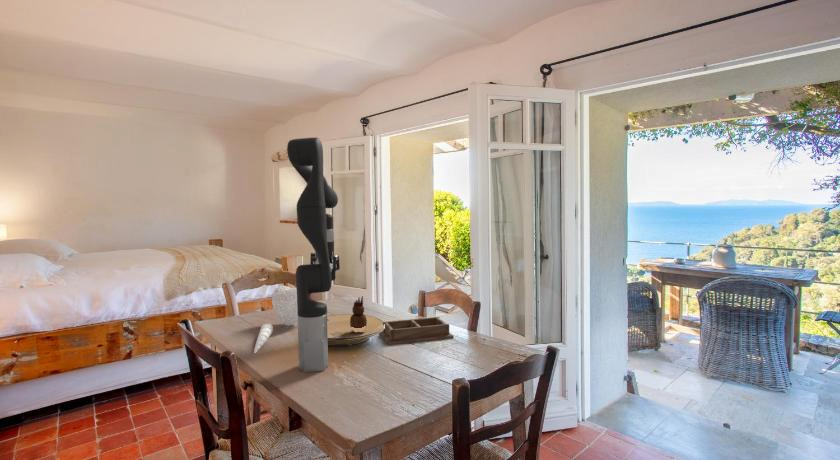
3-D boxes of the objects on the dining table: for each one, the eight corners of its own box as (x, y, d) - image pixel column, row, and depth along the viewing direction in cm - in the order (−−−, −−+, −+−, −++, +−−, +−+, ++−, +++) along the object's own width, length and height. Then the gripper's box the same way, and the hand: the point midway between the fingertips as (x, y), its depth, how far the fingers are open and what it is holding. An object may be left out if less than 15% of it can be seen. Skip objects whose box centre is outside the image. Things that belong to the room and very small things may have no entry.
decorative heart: (266, 325, 179) (265, 286, 178) (285, 319, 188) (285, 282, 187) (293, 332, 169) (292, 291, 168) (313, 325, 178) (312, 286, 177)
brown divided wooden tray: (453, 338, 160) (453, 325, 160) (388, 345, 152) (388, 332, 152) (439, 326, 176) (439, 315, 175) (379, 332, 168) (379, 320, 167)
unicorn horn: (243, 355, 143) (242, 341, 143) (261, 334, 167) (261, 323, 167) (257, 354, 144) (257, 341, 144) (273, 334, 168) (273, 322, 167)
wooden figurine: (369, 331, 170) (369, 295, 169) (360, 335, 165) (359, 298, 164) (357, 329, 173) (356, 293, 172) (347, 332, 168) (347, 296, 168)
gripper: (305, 239, 167) (305, 278, 169) (330, 242, 160) (330, 283, 161) (318, 237, 173) (319, 275, 175) (343, 240, 166) (344, 279, 167)
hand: (324, 279), depth 168 cm, fingers open, 8 cm apart
